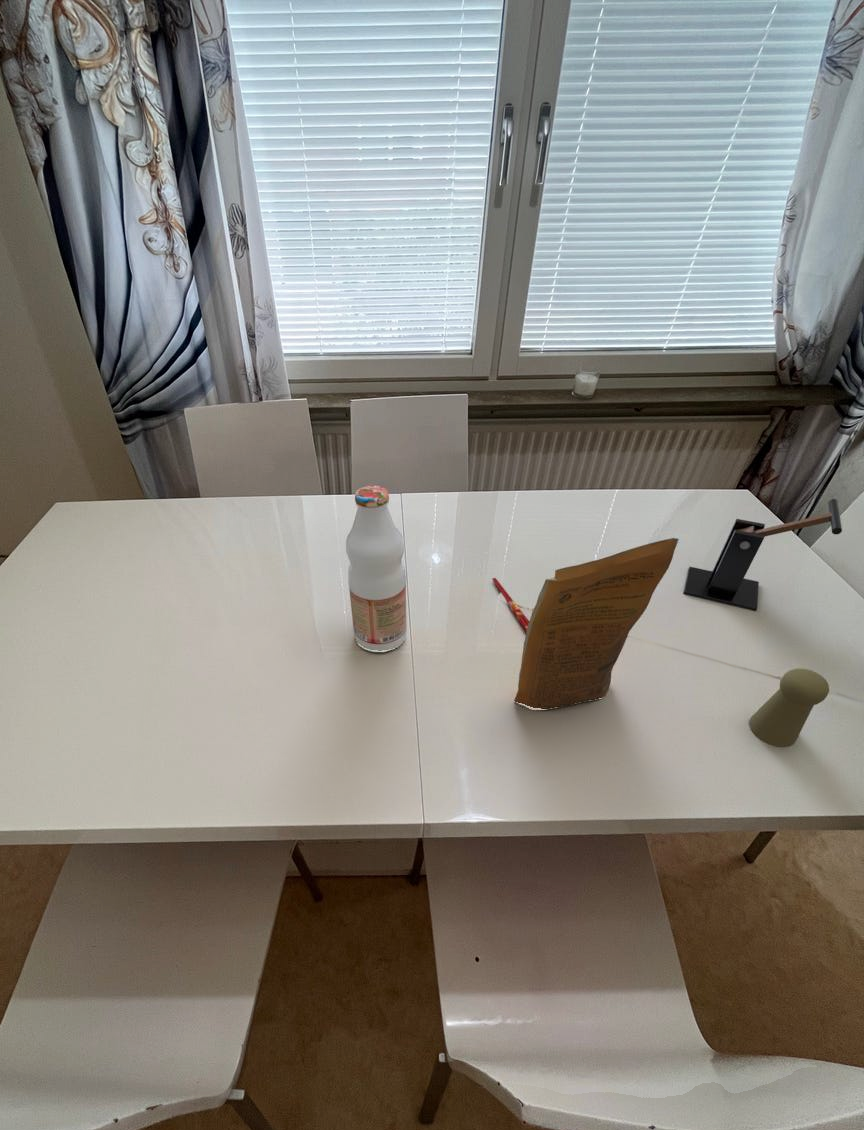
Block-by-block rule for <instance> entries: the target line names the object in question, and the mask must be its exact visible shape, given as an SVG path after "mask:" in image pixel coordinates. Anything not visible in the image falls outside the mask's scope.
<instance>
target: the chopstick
mask: <svg viewBox="0 0 864 1130" xmlns="http://www.w3.org/2000/svg"><path fill="white" fill-rule="evenodd" d="M492 581H493V583H494V585H495V586H496V587H497V589H498V590H499V592H500V593H501V595H502V596H503V597H504V599H505V600H506V603H507V605H508V606H509V608H510V610H511V611H512V612H513V614H514V616H515V618H516V619H517V620H518V622H519V623H520V625H521V626H522V628H523V630H524V632H526V630H527V627H528V624H529V621H530V619H528V618H527V617H526V615H525V614H524V612H523V611H522V610H521V608H520V607H519V606H518V605H517V604H516V602H515V600H514V599H513V598H512V597H511V595H510V594H509V593H508V591H506V589H505V588H504V586H503V585H502V584H501V582H499V580H498V579H497V578H496V577H492Z"/></svg>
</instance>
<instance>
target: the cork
mask: <svg viewBox="0 0 864 1130" xmlns="http://www.w3.org/2000/svg"><path fill="white" fill-rule="evenodd" d="M829 692H830V685H829V683H828V681H827V679H826V678H825V677H824V676H822V674H820V673H818V672H816V671H813V670H812V669H808V668H800V667H798V668H793V669H790V670H788V671H786V672H785V673H784V674H783V675H782V677H781V679H780V681H779V688H778V689H777V691H776V692H774V694H773V695H772V696H771V697H770V698H769V699H767V700H766V702H765V703H764V704H763V705H762V706H761V707H760V708H759V709H758V710H757V711H756V712H755V713H754V714H753V715H752V716H751V717H750V719H748V726H749V728H750V731H751V732H752V733H753V734H754V735H755V737H757V738H758V739H759V740H760V741H763V742H764V743H766V744H768V745H771V746H773V747H781V748H787V747H791V746H793V745H795V743H796V741H798V738H799V737H800V734H801V732H802V730H803V728H804V726H805V724H806V721H807V720H808V718H809V716H810V714H811V712H812V710H813V708H814V706H815V705H819V704H820V703H822V702H824V701H825V700H826V698H827V697H828V695H829V694H830V693H829Z"/></svg>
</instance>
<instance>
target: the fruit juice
mask: <svg viewBox="0 0 864 1130" xmlns="http://www.w3.org/2000/svg"><path fill="white" fill-rule="evenodd" d="M354 501H355V506H356V507H357V509H356V513H355V516H354V520H353V523H352V527H351V530H349V532H348V534H347V536H346V540H345V552H346V556H347V558H348V561H349V565H348V569H347V582H348V589H349V591H348V592H349V601H350V609H351V618H352V629H353V636H354V640H355V639H356V640H355V642H356V641H357V642H358V643H359V644H360V645H361V646H363V647H364V648H367V649H370V650H378V651H382V650H389V649H393V648H396V647H397V646H399V645H401V644H402V645H403V643H404V642H405V640H406V638H407V632H408V631H407V628H408V627H407V626H408V625H407V575H406V567H405V565H404V564H405V563H404V562H403V560H402V558H403V556H404V552H405V541H404V537H403V534H402V532H401V530H400V529H399V528H398V527H397V526H396V524H395V522H394V520H393V517H392V515H391V512H390V509H389V507H388V505H389V503H390V494H389V491H388V489H386V487H383V486H381V485H366V486H363V487H360V488H359V489H357V490H356V491H355V494H354ZM403 641H404V642H403ZM357 642H356V643H357ZM402 642H403V643H402ZM402 645H401V646H402Z"/></svg>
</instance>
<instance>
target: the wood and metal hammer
mask: <svg viewBox="0 0 864 1130" xmlns="http://www.w3.org/2000/svg"><path fill="white" fill-rule="evenodd" d="M838 502H839V501H838V499H837V498H836V499H835V498H832V499H830V500H828V501H827V506H828V513H824V514H820V515H815V516H811V517H807V518H803V519H798V520H795V521H791V522H790V521H789V522H787V523H782V524H778V525H774V526H770V527H766V528H765V527H764V529H761V530H756V531H755V529H754V526H751V527H747V528H743V529H739V530H740V531H745V532H750V533H755V534H761V535H764V538H765V537H769V536H774V535H779V534H782V533H783V534H784V533H787V532H791V531H796V530H800V529H804V528H808V527H813V526H818V525H820V524H821V525H822V524H825V523H830V529H831V534H833V535H840V534H841V533H842V532H843V527H842V522H841V514H840V507H839V503H838Z"/></svg>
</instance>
